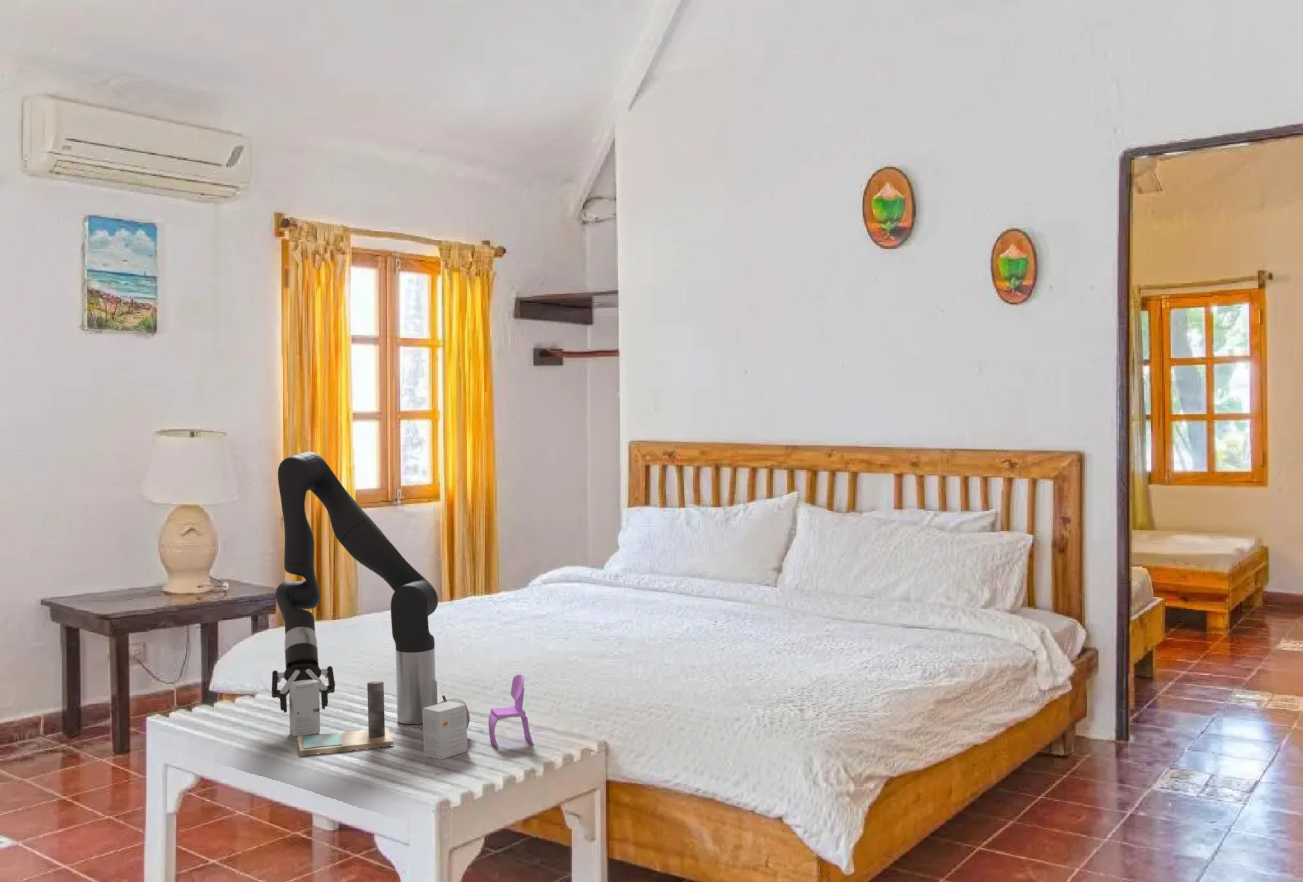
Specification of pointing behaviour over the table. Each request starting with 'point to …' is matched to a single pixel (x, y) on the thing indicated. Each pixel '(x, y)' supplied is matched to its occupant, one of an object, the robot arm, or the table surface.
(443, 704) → the small box
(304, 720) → the skincare box
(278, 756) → the table surface
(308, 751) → the board
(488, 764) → the table surface
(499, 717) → the toy chair
